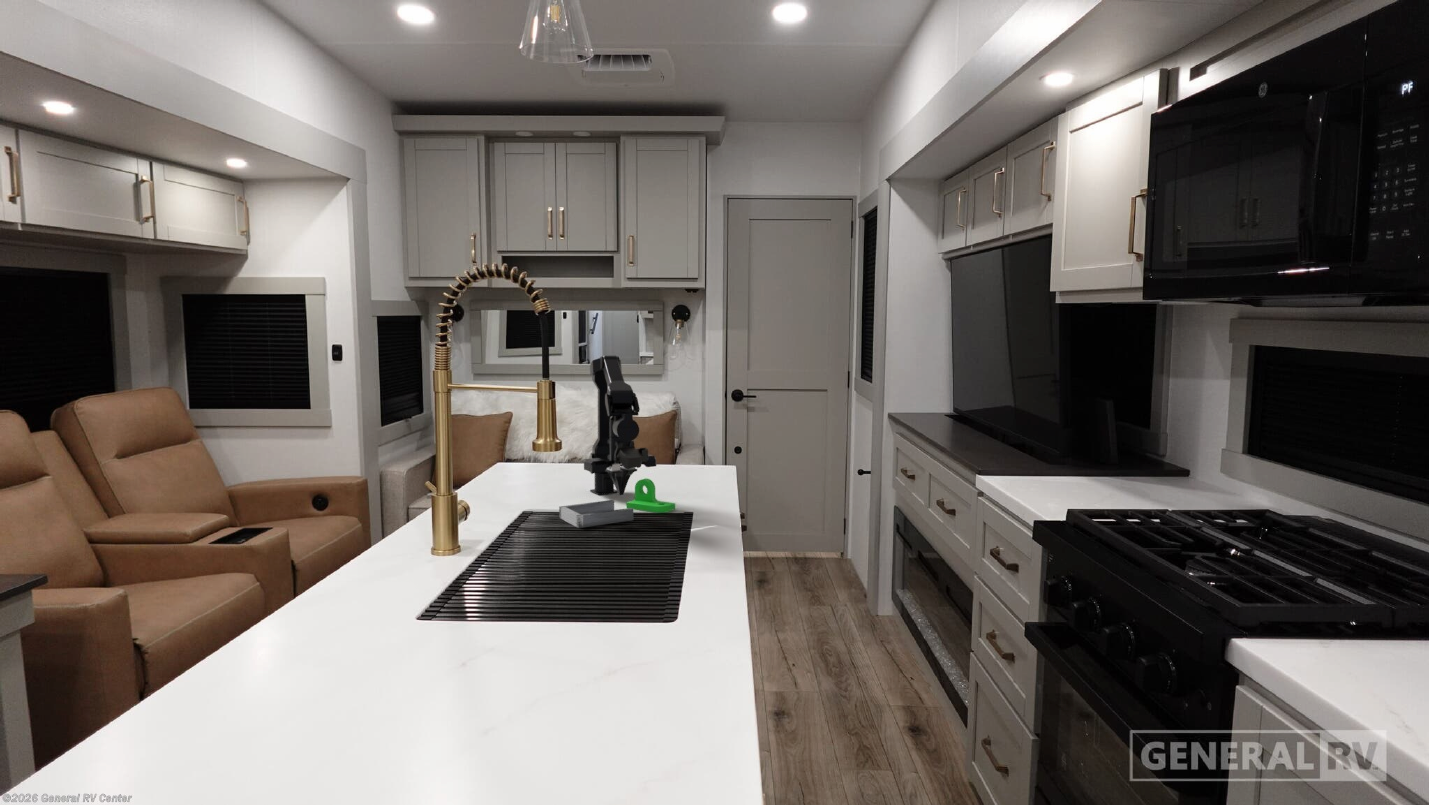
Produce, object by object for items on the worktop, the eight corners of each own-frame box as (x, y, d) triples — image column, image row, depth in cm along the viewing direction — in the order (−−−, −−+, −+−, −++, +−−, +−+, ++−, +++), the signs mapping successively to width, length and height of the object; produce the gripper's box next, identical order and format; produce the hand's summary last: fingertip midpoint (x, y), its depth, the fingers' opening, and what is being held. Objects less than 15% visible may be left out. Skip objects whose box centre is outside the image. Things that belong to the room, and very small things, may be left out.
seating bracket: (559, 517, 194) (559, 506, 194) (612, 510, 203) (612, 500, 203) (578, 528, 184) (578, 516, 184) (633, 520, 193) (633, 508, 192)
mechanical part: (626, 509, 205) (626, 481, 205) (639, 505, 211) (638, 477, 210) (663, 514, 200) (663, 485, 199) (675, 510, 205) (675, 481, 204)
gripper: (601, 442, 184) (601, 505, 185) (666, 437, 194) (666, 496, 195) (582, 437, 193) (583, 497, 194) (646, 432, 203) (646, 489, 205)
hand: (620, 495), depth 197 cm, fingers closed
